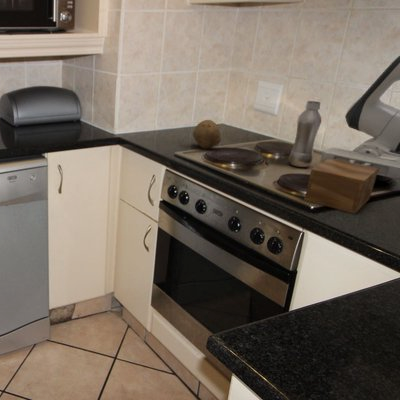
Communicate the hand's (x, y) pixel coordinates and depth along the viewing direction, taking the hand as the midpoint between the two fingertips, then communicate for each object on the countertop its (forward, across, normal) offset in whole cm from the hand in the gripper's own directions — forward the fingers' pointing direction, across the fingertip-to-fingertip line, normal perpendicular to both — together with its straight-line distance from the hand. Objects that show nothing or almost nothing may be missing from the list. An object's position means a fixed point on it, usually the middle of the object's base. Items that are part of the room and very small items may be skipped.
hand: (354, 168), depth 130 cm
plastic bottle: (-10, -17, +6) cm, 20 cm away
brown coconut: (-6, -47, +6) cm, 48 cm away
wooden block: (+12, 0, +6) cm, 13 cm away
